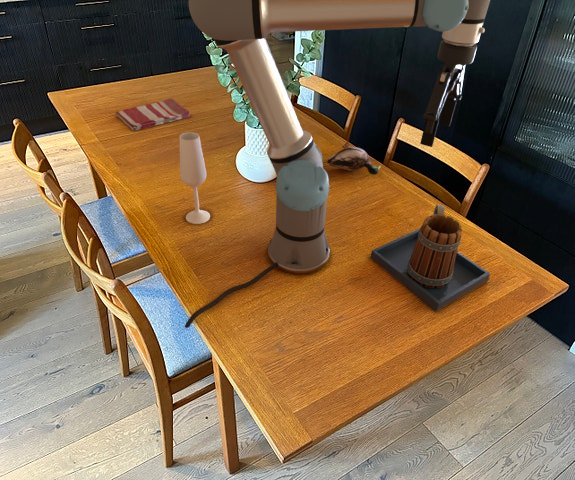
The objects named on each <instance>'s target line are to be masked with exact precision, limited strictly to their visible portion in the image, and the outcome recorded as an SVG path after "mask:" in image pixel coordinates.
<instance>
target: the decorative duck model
mask: <svg viewBox="0 0 575 480" xmlns="http://www.w3.org/2000/svg"><path fill="white" fill-rule="evenodd" d="M350 145H351V144H350V143H349V141H346V142H345V143H344V144H343V145H342V146H341V148H342V149H341V150H339V151H337V152H336V153H334V154H333V155H331V156H329V158H328V159H327V161H326V163H327V164H329V166H331V167H334V168H339V169H341V170H346V171H350V172H354V171H358V170H360V169H363V168H366V169H367V171H368V173H369V174H370V175H378V174H379V171H380V169H381V168H382V165H381V164H380V165H379V166H374V165H372V163H371V158H370V156H369V154H368V152H366V151H365V150H364V149H363V148H360V147H356V146H355V147H354V146H350Z"/></svg>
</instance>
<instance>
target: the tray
mask: <svg viewBox="0 0 575 480" xmlns="http://www.w3.org/2000/svg"><path fill="white" fill-rule="evenodd" d="M420 228H421V227H420ZM420 228H417V229H415V230H413V231H411V232H408V233H407V234H404V235H402V236H400V237H397V238H396V239H393V240H391V241H389V242H387V243H385V244H382V245H381V246H378V247H376V248H374V249H372V250H371V252H370V259H371V260H372V261H373V262H375V263H376V265H378V266H379V267H381V268H382V269H383V270H384V271H386V272H387V273H389V274H390V275H391V276H392V277H393V278H394V279H396V280H397V281H398V282H399V283H400V284H402V285H403V286H405V287H406V288H407V289H408V290H409V291H411V292H412V293H413V294H414V295H415V296H416V297H418V298H419V299H421V300H422V301H423V302H424V303H425V304H427V306H429V307H431V309H433V310H434V311H435V312H438V311H439V310H442V309H443V308H445V307H446V306H448V305H450V304H452V303H453V302H454V301H456V300H459V299H460V298H462V297H463V296H464V295H467V294H468V293H470V292H472V291H473V290H475V289H476V288H478V287H480V286H482V285H483V284H485V283H487V282H488V281H489V279H490V275H491V272H489V271H487V270H486V269H485V268H484V267H481V265H479V264H477V263H476V262H474V261H473V260H471V259H469V258H468V257H467V256H465V255H464V254H462V253H460V252H459V251H458V250H457V254H456V258H455V263H454V267H453V268H454V269H453V275H452V278H451V280H450V282H449V283H448V284H447V285H445V286H444V287H440V288H427V287H423V286H421V285H419V284H417V283H416V282H415V281H413V280H412V279H411V278H410V277H409V275H408V273H407V264H408V261H409V258H410V257H411V255H412V253H413V250H414V247H415V244H416V241H417V239H418V234H419V231H420Z"/></svg>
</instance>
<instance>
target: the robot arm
mask: <svg viewBox="0 0 575 480" xmlns="http://www.w3.org/2000/svg"><path fill="white" fill-rule="evenodd" d="M490 2H491V0H188V10H189V14H190V16H191V19H192V21H193V23H194V24H195V26H196V27H197V29H198V30H200V32H202V33H203V35H205V36H207V37H209V38H211V39H212V40H213V42H214V43H215V45H216V47H217V48H220V49H222V50H225V51H226V52H227V54H228V57H229V59H230V61H231V63H232V65H233V67H234V70H235V72H236V74H237V76H238V79H239V80H240V83H241V85H242V87H243V89H244V92H245V93H246V96H247V98H248V100H249V103H250V104H251V106H252V109H253V111H254V114H255V116H256V118H257V120H258V122H259V124H260V126H261V129H262V131H263V133H264V135H265V137H266V140H267V142H268V144H269V145H268V148H267V150H266V154H267V156H268V159H269V161H270V163H271V166H272V168H273V170H274V172H275V174H276V175H275V176H276V181H275V191H276V195H275V196H276V199H275V201H276V202H275V204H276V207H275V229H274V232H273V235H272V237H271V239H270V241H269V242H268V247H267V256H268V259H269V262H270V264H271V265H269V266H268V267H267V268H265V269H264V270H262V272H260V273H259V274H257V275H256V276H254V278H252V279H251V280H249V281H247V282H244V283H241V284H238V285H235V286H232V287H231V288H227V290H225V291H224V292H222V293H221V294H220V295H218V296H217V297H216V298H215V299H213V300H212V301H210V302H209V303H208V304H205V305H204V306H202V307H200V308H199V309H197V310H196V311H194V312H193V313H192V315H191V316H190V317H189V318H188V319H187V321H186V322H185V325H184V328H185V329H189V328H190V327H191V325H192V324H193V322H194V321H195V320H196V319H197V317H199V316H200V315H201V314H203V313H205V312H206V311H208V310H209V309H211V308H213V307H215V306H216V305H217V304H219V302H221V301H222V300H223V299H225V298H226V297H227V296H229V295H230V294H232V293H234V292H237V291H240V290H243V289H246V288H249V287H250V286H252V285H254V284H256V283H257V282H259V281H260V280H261V279H262V278H263V277H265V276H266V275H267V274H269V273H270V272H271V271H273V270H274V269H275V268H277V269H278V270H280V271H282V272H284V273H287V274H291V275H292V274H293V275H308V274H314V273H315V272H318V271H320V270H321V269H323V268H324V267H325V266H326V265H327V264H328V261H329V260H330V246H329V245H330V244H329V241H328V238H327V235H326V232H325V227H326V215H327V205H328V197H329V192H330V179H329V175H328V172H327V171H326V170H325V169H324V162H323V161H324V159H323V154H322V152H321V150H320V148H319V147H318V146H317V144H316V143H315V141H314V139H313V136H312V134H311V132H309V131H308V130H304V129H303V128H302V126H301V123H300V120H299V119H298V116H297V114H296V110H295V108H294V105H293V103H292V101H291V98H290V96H289V93H288V91H287V88H286V86H285V83H284V80H283V78H282V75H281V74H280V71H279V68H278V66H277V63H276V61H275V59H274V56H273V53H272V51H271V48H270V46H269V44H268V41H267V36H268V35H270V34H271V33H289V32H290V33H291V32H311V31H312V32H314V31H315V32H316V31H336V30H337V31H339V30H359V29H361V30H363V29H383V28H384V29H386V28H387V29H388V28H408V27H409V28H410V27H413V28H416V27H417V28H418V27H420V28H421V27H427V28H429V29H431V30H433V31H437V32H441V33H442V34H441V38H442V40H441V41H440V43H439V48H438V52H437V59H438V60H439V61H440V62H442V63H443V64H444V66H443V68H441V70H439V71H438V72H437V76H436V80H435V83H434V87H433V88H432V92H431V95H430V98H429V100H428V104H427V106H426V109H425V112H423V114H422V118H424V119H425V122H424V127H423V130H422V135H421V139H420V145H423V146H426V147H430V148H432V147H433V146H434V142H435V139H436V135H437V131H438V127H439V125H440V126H445V127H451V124H452V121H453V117H454V113H455V109H456V106H457V102H458V100H459V101H461V99H462V97H463V94H462V92H463V91H462V89H463V83H464V76H465V72H466V71H465V70H466V66H468V65H471V64H472V63H473V62H474V59H475V56H476V52H477V49H478V45H477V43H478V42H479V41H480V37H481V34H484V33H485V31H486V30H485V28H484V27H483V26H484V23H485V20H486V16H487V12H488V10H489V5H490Z"/></svg>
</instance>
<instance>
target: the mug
mask: <svg viewBox="0 0 575 480" xmlns="http://www.w3.org/2000/svg"><path fill="white" fill-rule="evenodd" d="M460 223H461V222H459V220H457V219H454V217H453V216H450V215H447V216H446V215H445V206H444V205H443V204H436V206H435V207H434V210H433V213H432V214H431V215H428V216H427V217H426V218H425V219H424V220H423V222H422V225H421V226H420V231H419V234H418V239H417V241H416V244H415V247H414V250H413V253H412V255H411V257H410V258H409V261H408V264H407V273H408V275H409V277H410V278H411V279H412V280H413V281H415V282H416V283H417V284H419V285H421V286H423V287H427V288H440V287H444V286H445V285H447V284H448V283H449V282H450V280H451V278H452V275H453V269H454V268H453V267H454V263H455V258H456V254H457V251H458V249H459V246H460V244H461V240H462V233H463V232H462V231H463V228H462V225H461V224H460Z"/></svg>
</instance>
